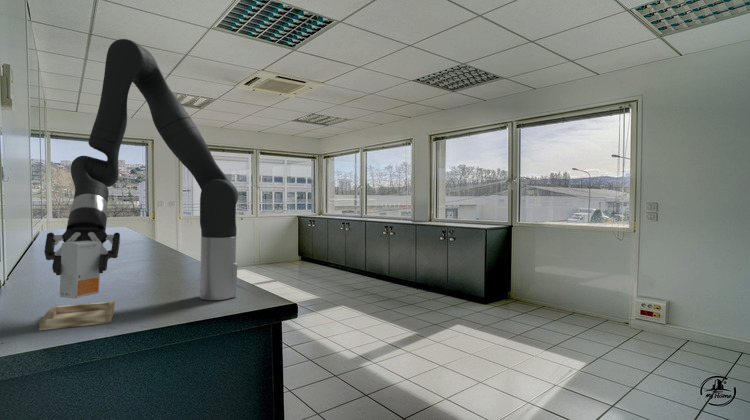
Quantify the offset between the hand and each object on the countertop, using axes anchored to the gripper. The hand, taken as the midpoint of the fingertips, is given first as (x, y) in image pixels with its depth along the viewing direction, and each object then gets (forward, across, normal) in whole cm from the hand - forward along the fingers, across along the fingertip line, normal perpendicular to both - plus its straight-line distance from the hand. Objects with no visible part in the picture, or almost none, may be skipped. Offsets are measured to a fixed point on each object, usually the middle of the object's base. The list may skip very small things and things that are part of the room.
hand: (79, 272), depth 85 cm
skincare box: (+3, 0, +5) cm, 6 cm away
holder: (+7, 0, +8) cm, 11 cm away
